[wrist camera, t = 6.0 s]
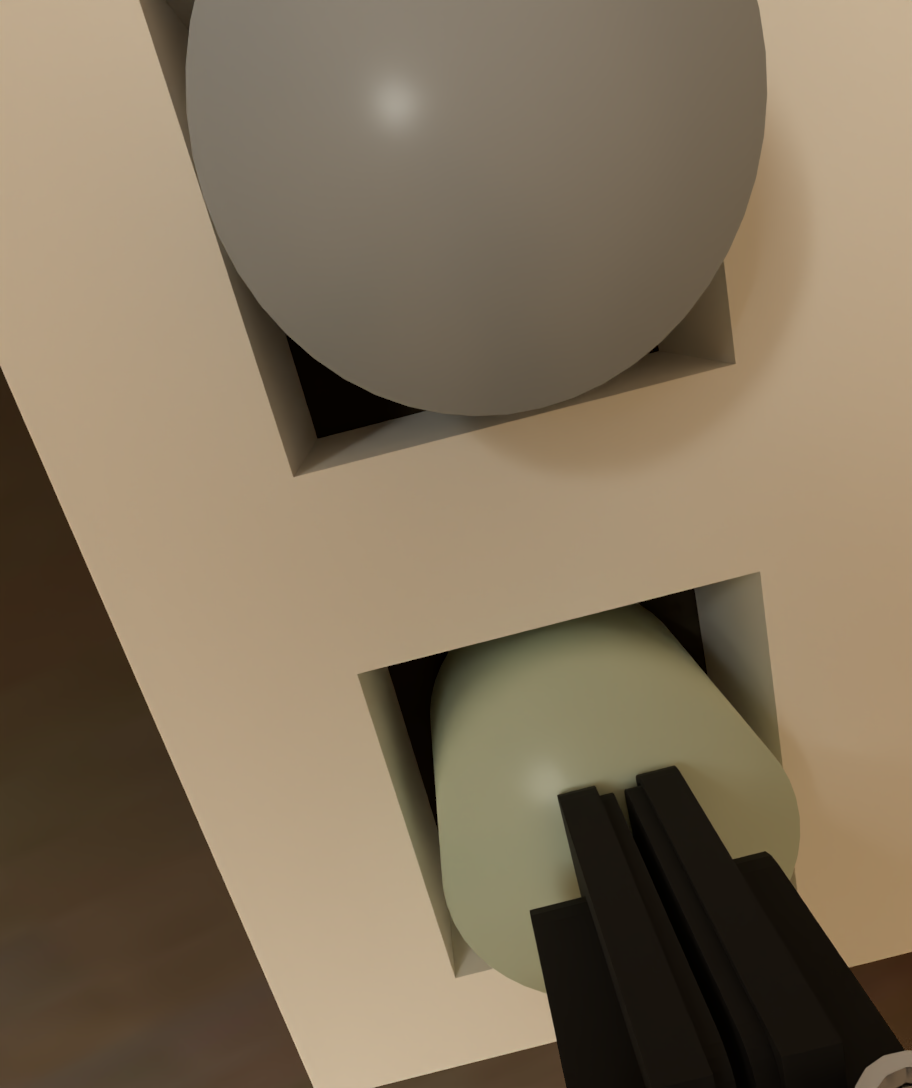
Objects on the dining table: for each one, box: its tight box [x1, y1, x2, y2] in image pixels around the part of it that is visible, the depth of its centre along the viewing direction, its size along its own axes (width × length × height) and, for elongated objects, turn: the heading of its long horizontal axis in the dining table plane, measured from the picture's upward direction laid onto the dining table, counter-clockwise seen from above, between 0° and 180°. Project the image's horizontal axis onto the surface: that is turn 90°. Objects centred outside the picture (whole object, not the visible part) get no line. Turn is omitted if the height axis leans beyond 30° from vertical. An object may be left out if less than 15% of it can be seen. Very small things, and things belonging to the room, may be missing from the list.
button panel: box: [0, 0, 912, 1088], centre depth 10 cm, size 28×12×3 cm, turn 14°
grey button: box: [185, 0, 767, 416], centre depth 8 cm, size 5×5×4 cm
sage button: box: [430, 603, 800, 993], centre depth 12 cm, size 5×5×4 cm
